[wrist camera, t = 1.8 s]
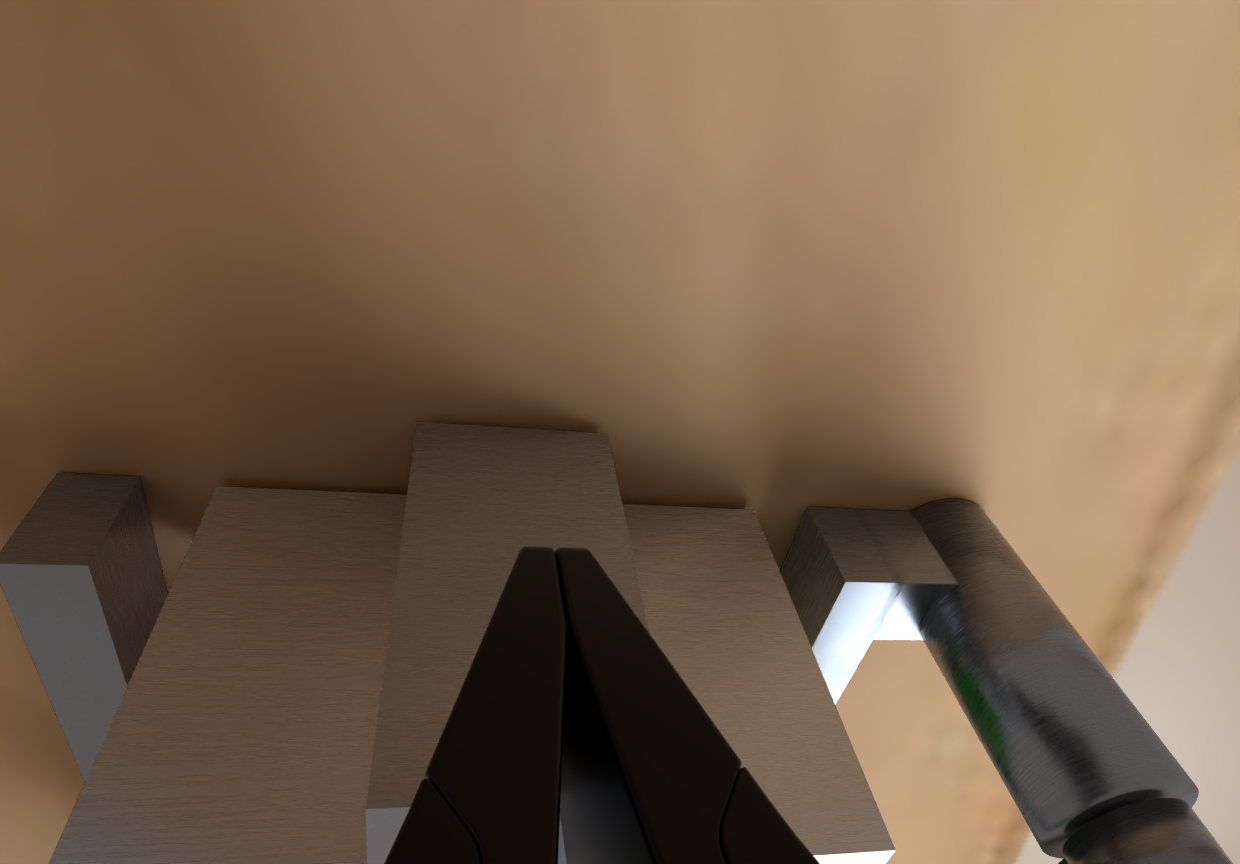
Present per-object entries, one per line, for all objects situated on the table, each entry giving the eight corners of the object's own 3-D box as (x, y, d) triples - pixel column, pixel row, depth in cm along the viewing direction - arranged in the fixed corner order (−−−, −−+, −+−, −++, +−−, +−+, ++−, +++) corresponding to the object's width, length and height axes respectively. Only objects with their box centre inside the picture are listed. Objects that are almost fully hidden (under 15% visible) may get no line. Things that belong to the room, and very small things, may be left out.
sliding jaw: (732, 567, 19) (851, 906, 13) (227, 554, 17) (68, 970, 10) (778, 444, 17) (949, 783, 11) (203, 407, 14) (-21, 826, 8)
